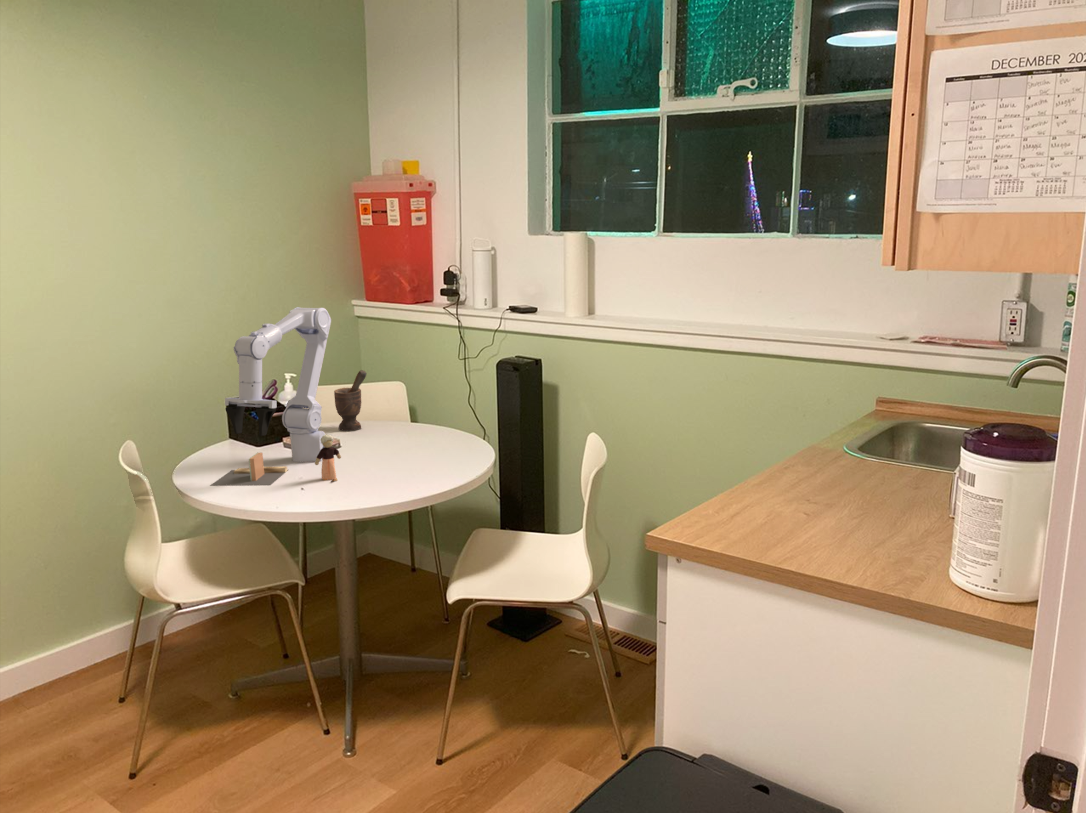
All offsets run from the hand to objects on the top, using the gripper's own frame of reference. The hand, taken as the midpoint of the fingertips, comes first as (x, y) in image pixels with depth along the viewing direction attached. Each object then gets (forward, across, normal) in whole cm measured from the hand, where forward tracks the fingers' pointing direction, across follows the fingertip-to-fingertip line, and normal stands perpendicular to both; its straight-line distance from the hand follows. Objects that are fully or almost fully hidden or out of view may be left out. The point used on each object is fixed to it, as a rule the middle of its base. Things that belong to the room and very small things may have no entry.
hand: (250, 434), depth 227 cm
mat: (+13, -2, +3) cm, 13 cm away
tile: (+12, 0, +3) cm, 12 cm away
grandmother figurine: (+12, +20, +7) cm, 24 cm away
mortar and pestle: (+5, -4, +60) cm, 60 cm away
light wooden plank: (+11, -3, +8) cm, 14 cm away
